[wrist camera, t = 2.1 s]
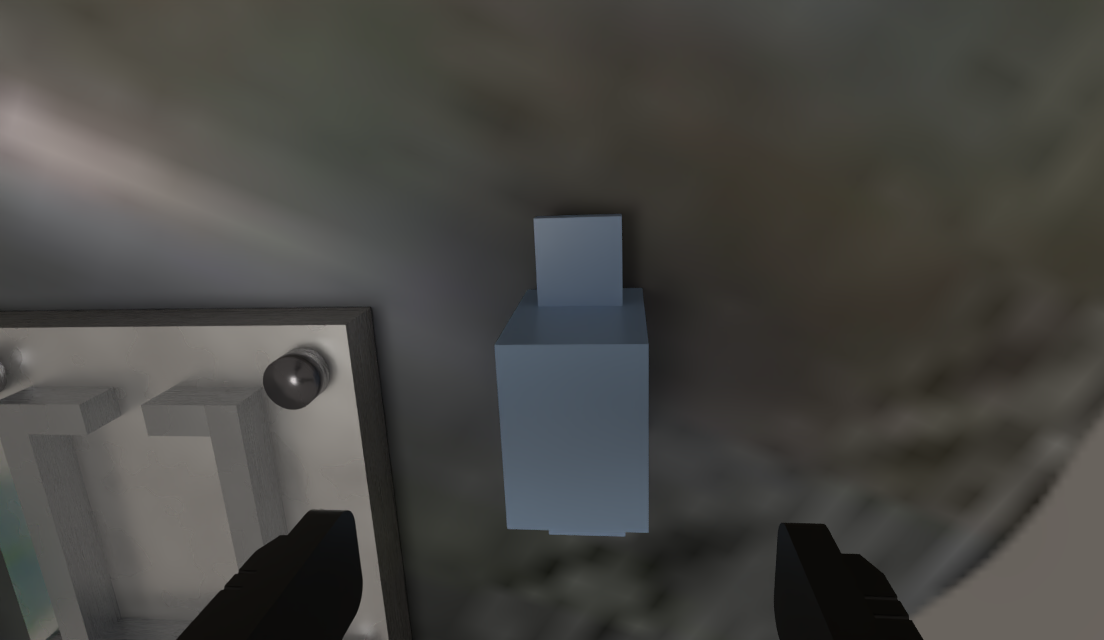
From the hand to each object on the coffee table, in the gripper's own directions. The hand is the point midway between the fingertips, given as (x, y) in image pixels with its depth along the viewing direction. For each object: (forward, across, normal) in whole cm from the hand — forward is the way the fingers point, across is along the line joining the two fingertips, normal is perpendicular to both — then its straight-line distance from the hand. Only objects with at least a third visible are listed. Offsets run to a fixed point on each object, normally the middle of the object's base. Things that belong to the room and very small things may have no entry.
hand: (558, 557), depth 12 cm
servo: (+9, 0, -1) cm, 9 cm away
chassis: (+9, +14, +4) cm, 17 cm away
